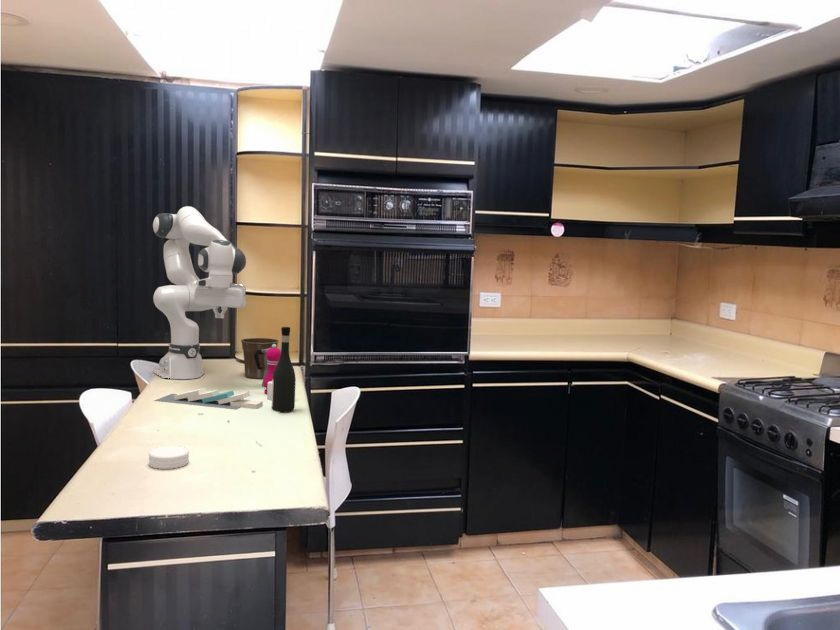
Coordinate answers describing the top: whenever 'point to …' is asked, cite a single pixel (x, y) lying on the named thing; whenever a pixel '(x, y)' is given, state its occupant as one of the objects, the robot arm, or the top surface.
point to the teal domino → (218, 397)
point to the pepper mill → (271, 364)
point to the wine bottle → (284, 378)
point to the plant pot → (249, 349)
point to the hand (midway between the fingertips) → (219, 318)
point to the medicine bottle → (269, 390)
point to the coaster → (168, 457)
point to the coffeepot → (264, 361)
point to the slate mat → (196, 402)
